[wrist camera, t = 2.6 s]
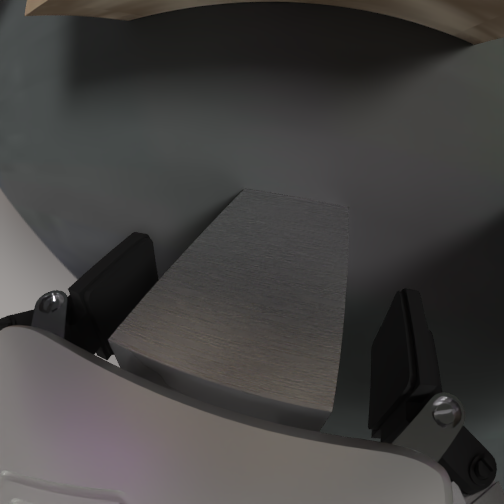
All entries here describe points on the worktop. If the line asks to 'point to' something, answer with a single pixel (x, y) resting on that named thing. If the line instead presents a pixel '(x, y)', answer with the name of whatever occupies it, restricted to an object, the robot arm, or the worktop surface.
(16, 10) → the worktop surface
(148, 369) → the brushed metal block
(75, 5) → the open wooden box
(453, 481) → the robot arm
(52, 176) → the worktop surface
